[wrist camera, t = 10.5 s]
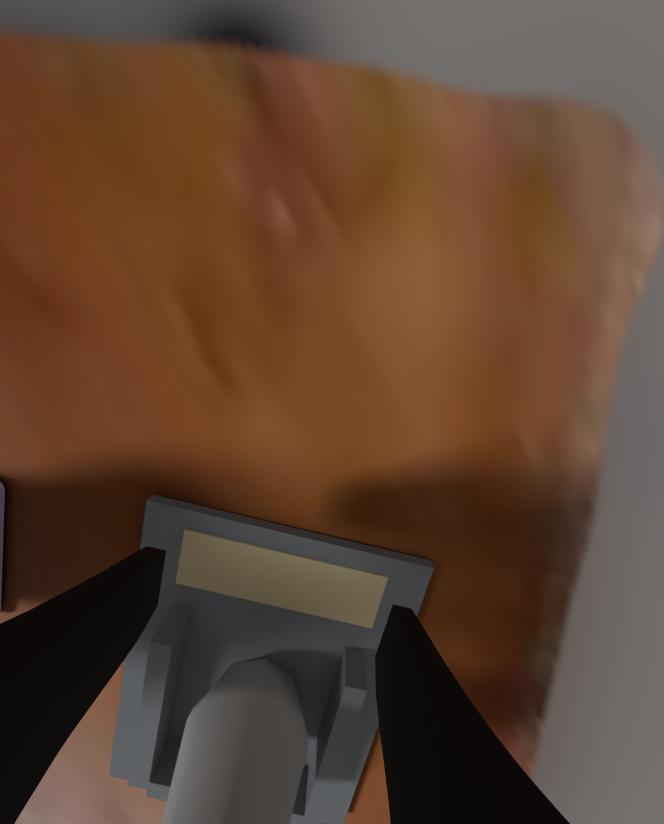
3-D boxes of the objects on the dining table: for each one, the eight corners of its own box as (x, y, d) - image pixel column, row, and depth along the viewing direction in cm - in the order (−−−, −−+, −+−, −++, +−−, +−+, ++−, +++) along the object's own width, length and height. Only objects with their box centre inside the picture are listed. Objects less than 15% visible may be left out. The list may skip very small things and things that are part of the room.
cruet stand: (116, 762, 20) (83, 824, 17) (153, 494, 16) (118, 523, 14) (342, 812, 20) (342, 879, 18) (430, 560, 16) (447, 600, 14)
